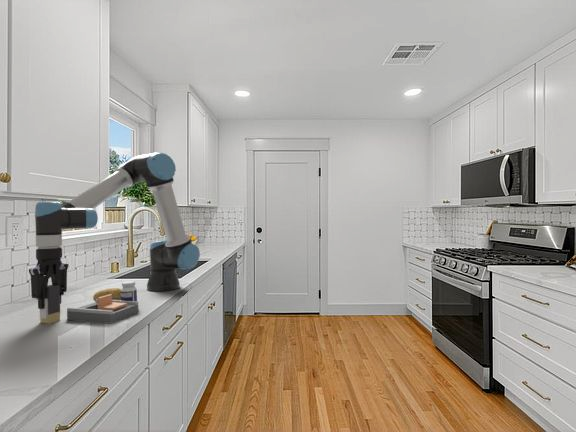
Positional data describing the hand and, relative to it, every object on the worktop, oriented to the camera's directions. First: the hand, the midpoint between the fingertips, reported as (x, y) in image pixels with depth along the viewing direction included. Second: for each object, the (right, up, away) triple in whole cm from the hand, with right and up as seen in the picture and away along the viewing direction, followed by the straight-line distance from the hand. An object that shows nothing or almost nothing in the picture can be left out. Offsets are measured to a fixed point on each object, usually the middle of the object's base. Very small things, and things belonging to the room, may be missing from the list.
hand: (50, 315), depth 127 cm
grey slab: (+15, -2, +6) cm, 17 cm away
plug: (0, -2, 0) cm, 2 cm away
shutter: (+19, +2, +5) cm, 19 cm away
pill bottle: (+19, -2, +17) cm, 26 cm away
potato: (+9, -2, +24) cm, 25 cm away
